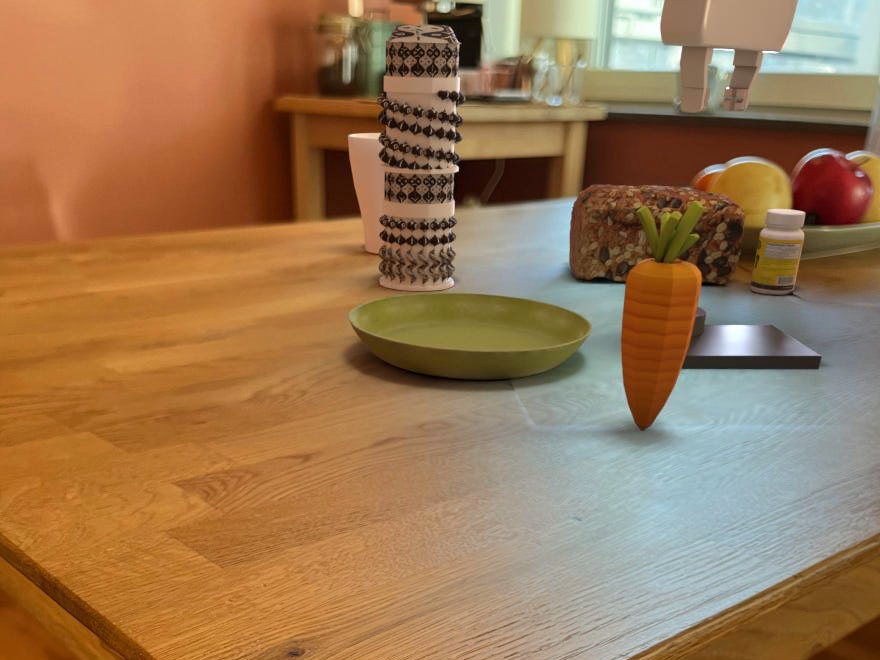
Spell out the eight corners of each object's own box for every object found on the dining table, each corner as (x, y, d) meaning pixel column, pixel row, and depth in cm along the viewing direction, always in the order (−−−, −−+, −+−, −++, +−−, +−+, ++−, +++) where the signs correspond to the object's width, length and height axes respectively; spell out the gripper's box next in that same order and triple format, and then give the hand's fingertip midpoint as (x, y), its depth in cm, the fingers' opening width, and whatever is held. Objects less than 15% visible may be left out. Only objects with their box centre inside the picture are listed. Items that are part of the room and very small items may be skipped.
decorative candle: (443, 274, 120) (452, 26, 107) (467, 290, 112) (481, 25, 99) (367, 276, 118) (368, 24, 105) (387, 293, 110) (390, 23, 97)
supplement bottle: (755, 285, 118) (770, 207, 113) (797, 290, 116) (813, 210, 111) (744, 292, 114) (759, 211, 110) (787, 297, 112) (804, 215, 108)
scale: (766, 335, 97) (772, 303, 95) (818, 370, 86) (827, 334, 85) (627, 335, 96) (631, 302, 94) (663, 369, 85) (669, 333, 84)
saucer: (326, 381, 81) (326, 340, 79) (369, 321, 98) (370, 287, 97) (590, 397, 78) (595, 355, 77) (586, 333, 96) (589, 298, 94)
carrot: (593, 429, 72) (619, 198, 64) (633, 414, 75) (663, 193, 67) (653, 446, 69) (688, 207, 61) (692, 430, 72) (731, 201, 64)
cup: (403, 261, 127) (405, 140, 120) (333, 252, 131) (331, 136, 124) (443, 249, 134) (447, 136, 128) (375, 241, 139) (375, 131, 132)
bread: (574, 283, 117) (583, 188, 112) (564, 266, 126) (573, 178, 121) (737, 287, 116) (754, 193, 111) (716, 270, 125) (730, 182, 120)
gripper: (740, -105, 71) (702, 116, 78) (826, -72, 86) (788, 112, 93) (656, -102, 75) (628, 110, 81) (753, -70, 89) (722, 108, 96)
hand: (714, 111), depth 87 cm, fingers open, 8 cm apart
